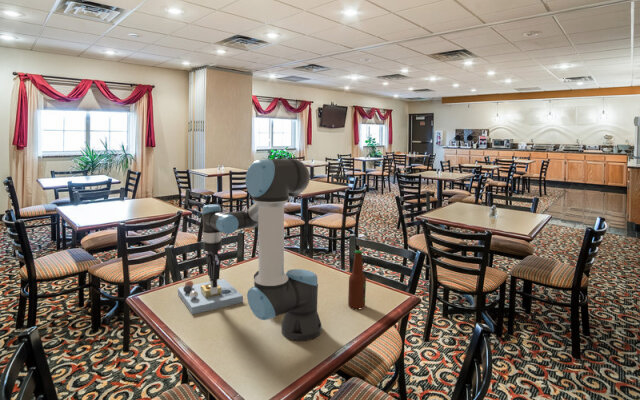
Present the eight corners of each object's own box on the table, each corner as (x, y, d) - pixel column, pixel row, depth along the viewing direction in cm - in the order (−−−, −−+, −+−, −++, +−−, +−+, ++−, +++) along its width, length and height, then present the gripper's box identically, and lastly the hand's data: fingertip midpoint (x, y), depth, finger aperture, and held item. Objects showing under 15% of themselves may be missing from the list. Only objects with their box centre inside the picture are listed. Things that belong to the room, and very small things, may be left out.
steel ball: (199, 299, 158) (198, 291, 158) (190, 301, 156) (190, 293, 156) (196, 296, 161) (196, 288, 161) (188, 298, 159) (188, 290, 159)
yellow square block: (221, 294, 164) (221, 286, 163) (205, 297, 160) (205, 289, 159) (216, 288, 170) (216, 281, 169) (200, 292, 166) (200, 284, 165)
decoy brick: (194, 288, 170) (194, 281, 169) (186, 290, 168) (186, 282, 167) (192, 285, 173) (191, 278, 172) (184, 287, 171) (184, 280, 170)
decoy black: (192, 293, 165) (192, 285, 164) (184, 294, 163) (184, 287, 162) (190, 290, 168) (190, 283, 167) (182, 292, 166) (182, 284, 165)
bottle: (368, 308, 160) (370, 252, 156) (354, 311, 156) (356, 254, 152) (358, 301, 166) (360, 247, 162) (344, 305, 162) (346, 250, 158)
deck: (243, 302, 163) (242, 295, 163) (192, 314, 151) (191, 307, 151) (224, 284, 183) (224, 278, 182) (177, 294, 171) (177, 287, 170)
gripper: (226, 243, 154) (227, 296, 158) (216, 236, 165) (217, 286, 168) (208, 245, 150) (210, 300, 154) (199, 238, 161) (200, 290, 164)
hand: (213, 293), depth 161 cm, fingers closed
